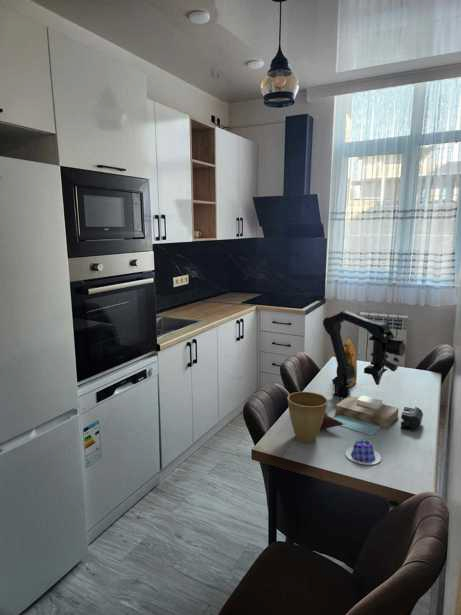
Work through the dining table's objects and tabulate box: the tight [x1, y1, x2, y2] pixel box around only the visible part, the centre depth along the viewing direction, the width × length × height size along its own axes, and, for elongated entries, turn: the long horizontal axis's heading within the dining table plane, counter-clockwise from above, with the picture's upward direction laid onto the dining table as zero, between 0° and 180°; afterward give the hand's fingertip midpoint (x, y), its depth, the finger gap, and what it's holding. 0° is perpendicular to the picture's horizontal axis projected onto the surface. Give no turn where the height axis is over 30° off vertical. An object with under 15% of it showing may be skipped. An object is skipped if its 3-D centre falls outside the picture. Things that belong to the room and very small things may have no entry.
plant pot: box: [287, 391, 328, 443], centre depth 154 cm, size 15×15×16 cm
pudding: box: [345, 439, 382, 466], centre depth 142 cm, size 12×12×5 cm
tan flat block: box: [335, 395, 399, 429], centre depth 174 cm, size 22×14×4 cm, turn 50°
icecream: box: [320, 412, 343, 431], centre depth 162 cm, size 7×7×15 cm
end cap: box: [400, 406, 424, 432], centre depth 164 cm, size 10×7×7 cm
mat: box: [333, 414, 382, 437], centre depth 165 cm, size 18×9×1 cm, turn 50°
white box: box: [357, 395, 384, 409], centre depth 176 cm, size 9×6×2 cm, turn 50°
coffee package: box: [343, 339, 358, 387], centre depth 213 cm, size 10×12×22 cm
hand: (377, 384), depth 181 cm, fingers closed
